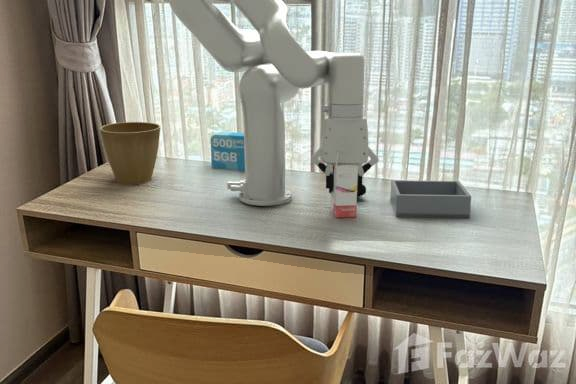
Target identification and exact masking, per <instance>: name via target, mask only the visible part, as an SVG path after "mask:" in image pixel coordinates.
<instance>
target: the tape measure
mask: <svg viewBox="0 0 576 384" xmlns="http://www.w3.org/2000/svg"><path fill="white" fill-rule="evenodd" d="M366 193H367V188H366V186H365V185H364V184H363V183H362V189H359V194H357V198H359V197H362V196H364V195H366Z"/></svg>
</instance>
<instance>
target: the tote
mask: <svg viewBox="0 0 576 384" xmlns="http://www.w3.org/2000/svg"><path fill="white" fill-rule="evenodd" d="M389 199H390V203H391V207H392V210H393V212H394V215H395V218H433V219H434V218H435V219H436V218H437V219H438V218H439V219H440V218H442V219H443V218H444V219H446V218H447V219H470V217H471V215H470V214H471V204H472V203H471V202H472V195H471V194H470V192H469V191H468V190H467V189H466V188H465V186H464V185H463V184H462V183H461V182H460V180H412V179H411V180H408V179H407V180H406V179H405V180H403V179H402V180H401V179H400V180H399V179H398V180H397V179H394V180H393V179H392V180H390V198H389Z"/></svg>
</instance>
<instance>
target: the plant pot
mask: <svg viewBox="0 0 576 384" xmlns="http://www.w3.org/2000/svg"><path fill="white" fill-rule="evenodd" d="M99 131H100V134H101V135H100V136H101V139H102V143H103V148H104V150H105V154H106V157H107V159H108V163H109V165H110V168H111V171H112V173H113V176H114V178H115V180H116V182H117V183H118V184H120V185H127V186H131V185H132V186H134V185H141V184H145V183H148V182H149V181H151V179H152V177H153V174H154V170H155V166H156V161H157V157H158V151H159V146H160V145H159V144H160V135H161V125H160V124H158V123H154V122H145V121H144V122H143V121H124V122H123V121H121V122H115V123H109V124H104V125H102V126H101V127H100V128H99Z"/></svg>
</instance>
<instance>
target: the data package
mask: <svg viewBox="0 0 576 384" xmlns="http://www.w3.org/2000/svg"><path fill="white" fill-rule="evenodd" d="M210 159H211V160H210V161H211V164H210V165H211V168H212V169H213V168H214V169H222V170H230V171H231V170H234V171H240V172H241V171H242V172H245V148H244V132H234V131H233V132H232V131H219V132H216V133H215V134H212V136H211V137H210Z"/></svg>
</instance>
